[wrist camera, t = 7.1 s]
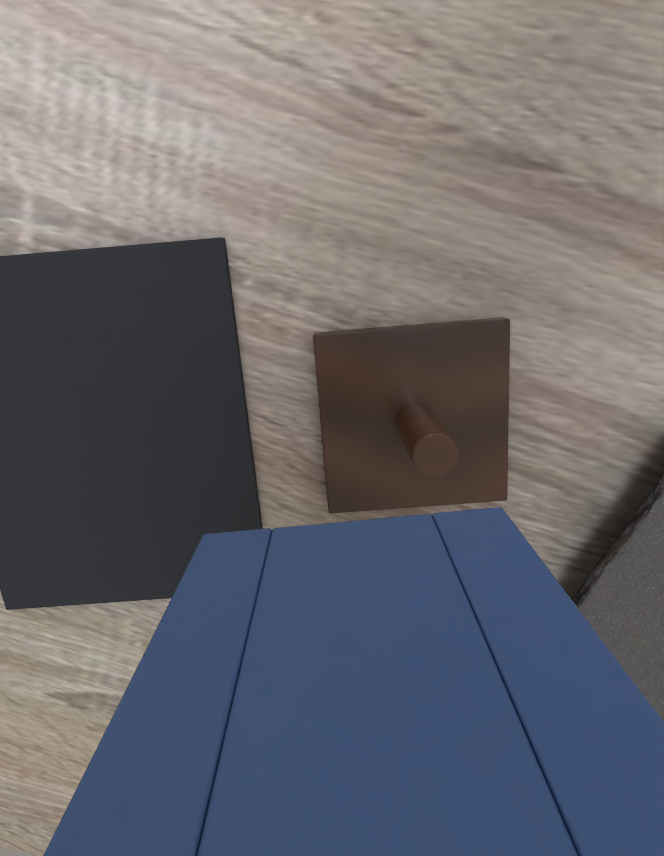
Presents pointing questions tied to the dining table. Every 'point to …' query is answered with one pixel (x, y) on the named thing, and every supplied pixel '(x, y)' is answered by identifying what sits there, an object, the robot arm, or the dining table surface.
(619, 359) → the dining table surface
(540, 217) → the dining table surface
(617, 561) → the serving tray
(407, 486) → the dowel stand
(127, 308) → the mat
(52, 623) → the dining table surface
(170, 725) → the block
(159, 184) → the dining table surface
